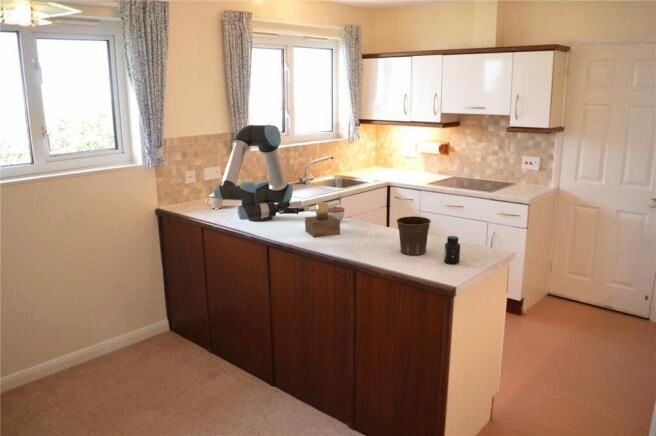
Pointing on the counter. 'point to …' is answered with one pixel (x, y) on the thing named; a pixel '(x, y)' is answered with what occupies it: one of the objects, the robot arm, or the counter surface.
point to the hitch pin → (321, 210)
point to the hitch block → (322, 226)
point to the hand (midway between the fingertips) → (305, 205)
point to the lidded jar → (336, 212)
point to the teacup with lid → (214, 201)
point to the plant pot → (413, 234)
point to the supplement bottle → (452, 251)
